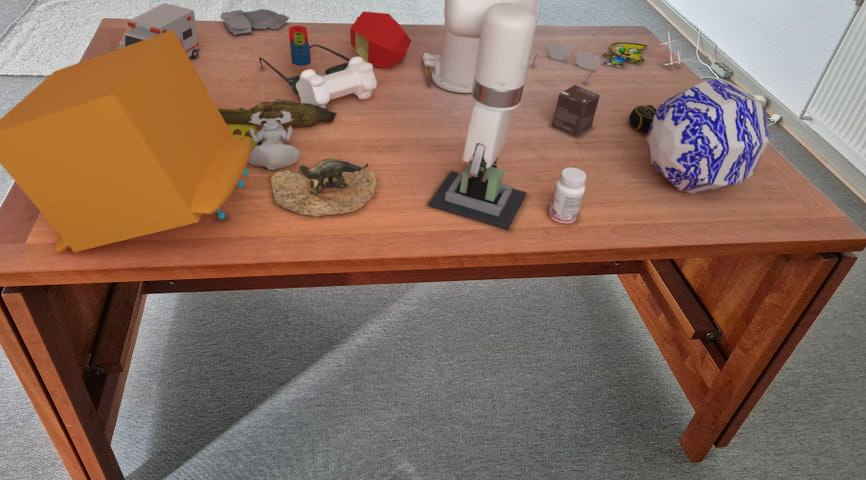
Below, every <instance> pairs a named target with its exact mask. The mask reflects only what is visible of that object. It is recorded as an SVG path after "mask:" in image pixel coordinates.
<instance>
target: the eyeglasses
mask: <svg viewBox="0 0 866 480" xmlns="http://www.w3.org/2000/svg"><path fill="white" fill-rule="evenodd" d="M547 46H548V47H547ZM546 47H547V52H548V56H549V57H550V58H552V59H554V60H557V61H560V62H562V61H563V62H564V61H566V60H568V59H569V57H570V54H571V53H575V55H574V60H575V62H576V64H577V65H578V67H580V68H583V69H586V70H588V71H592V72H590V74H589V75H588V76H587V78H586V80H585V82H584V84H586V82H587V81H588V79H589V77H590V76H591V75H592V74H593V73H594V71H595V70H596V69H597V68H598V67H599V66H600V64H601V63H602V59H600V56H598V55H596V54H594V53H592V52H588V51H585V50H578V51H574V50H571V48H570V47H569V46H567V45H565V44H562V43H558V42H553V41H552V42H549V43H546V44H545V45H544V46H543V47H542V49H541V50H539V52H538V53H537V54H536V55H535V56H534V58H533V63H532V67H534V64H535V60H536V58H537V57H538V55H539V54H540V53H541V52H542V51H543V50H544V49H546Z"/></svg>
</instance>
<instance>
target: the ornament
mask: <svg viewBox="0 0 866 480" xmlns="http://www.w3.org/2000/svg"><path fill="white" fill-rule="evenodd" d="M765 110H766V109H765V108H764V106H763V104H762V103H761V102H760V101H759V100H757V99H756V98H755V97H753V96H752V95H750V94H749V93H747V92H746V91H744V90H743V89H741V88H740V87H738V86H737V85H735V84H733V83H730V82H728V81H725V80H722V79H712V80H703V81H701V82H699V83H696V84H695V85H692V86H690V87H689V88H686V89H684V90H682V91H680V92H678V93H675V94H674V95H673V96H670V97H668V98H667V99H666V100H663V101H661V103H660V104H659V106H658V108H657V111H656V112H655V114H654V117H653V120H652V123H651V126H650V128H649V131H648V133H646V137H645V140H646V145H647V151H648V156H649V161H650V165H651V166H652V167H653V168H654V169H655V170H656V171H658V172H659V173H660V174H661V176H663V178H665V179H666V180H667V181H668V182H669V183H671V184H672V185H673V186H674V187H675V188H676V189H677V190H678V191H681V192H685V193H689V194H692V195H694V194H695V195H696V194H700V193H701V194H702V193H706V192H707V193H708V192H712V191H716V190H720V189H723V188H727V187H731V186H735V185H738V184H739V185H740V184H741V183H742V182H744V181H746V180H747V179H749V178H751V176H753V175H754V172H755V170H756V168H757V166H758V164H759V162H760V161H761V158H762V156H763V154H764V152H765V151H766V148H767V146H768V144H769V142H770V140H771V135H770V129H769V126H768V125H769V124H768V120H767V116H766V111H765Z"/></svg>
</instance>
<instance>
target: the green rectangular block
mask: <svg viewBox="0 0 866 480" xmlns="http://www.w3.org/2000/svg"><path fill="white" fill-rule="evenodd" d="M471 164H472V160H469V162H468V164H467V165H466V167H465V168H464V170H463V171H462V172H463V174H462V180H461V187H460V192H462V193H465V194H466V192H467V185H468V179H469V172H470V169H471ZM480 170H481V171H483V173H484V167H480ZM504 173H505V170H504V169H502V168H498V167H497V168H494V167H489V171H488V175H487V179H488V186H487V191H486V196H485V200H489V201H492V202H494V200H495V198H496V196H497V195H498V193H499V191H500V189H501V184H503V178H504Z"/></svg>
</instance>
